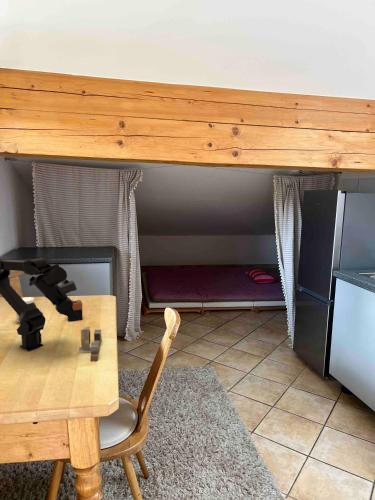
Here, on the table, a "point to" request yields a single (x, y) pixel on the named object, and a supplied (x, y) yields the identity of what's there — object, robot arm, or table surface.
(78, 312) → the battery
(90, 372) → the table surface
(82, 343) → the tan wooden block
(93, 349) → the rail
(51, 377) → the table surface
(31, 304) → the spread jar
